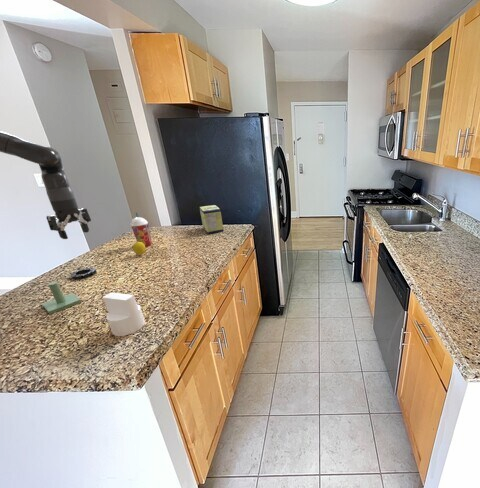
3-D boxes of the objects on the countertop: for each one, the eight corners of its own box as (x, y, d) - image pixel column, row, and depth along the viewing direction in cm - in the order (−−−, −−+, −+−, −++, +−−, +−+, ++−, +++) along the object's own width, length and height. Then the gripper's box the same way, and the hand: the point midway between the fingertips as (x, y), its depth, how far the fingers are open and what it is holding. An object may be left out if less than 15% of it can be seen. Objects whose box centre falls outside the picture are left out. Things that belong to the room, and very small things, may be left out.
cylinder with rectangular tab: (105, 334, 83) (92, 302, 79) (129, 316, 91) (119, 287, 87) (129, 337, 82) (117, 306, 77) (151, 319, 90) (142, 290, 85)
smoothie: (156, 242, 157) (148, 210, 150) (149, 247, 149) (139, 214, 142) (142, 243, 157) (133, 210, 149) (133, 248, 149) (123, 214, 141)
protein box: (218, 225, 188) (214, 204, 182) (224, 231, 176) (220, 209, 170) (203, 228, 182) (198, 206, 176) (207, 234, 170) (203, 211, 165)
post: (49, 314, 93) (39, 292, 89) (42, 306, 97) (32, 285, 94) (81, 302, 100) (72, 281, 96) (73, 295, 104) (64, 275, 101)
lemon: (132, 256, 138) (128, 242, 135) (141, 252, 143) (137, 239, 140) (141, 257, 137) (136, 243, 134) (149, 253, 142) (146, 240, 139)
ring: (75, 281, 114) (74, 278, 114) (69, 276, 119) (68, 273, 118) (99, 273, 121) (97, 270, 120) (92, 269, 125) (91, 266, 125)
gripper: (73, 194, 113) (85, 229, 119) (33, 201, 100) (50, 240, 106) (87, 195, 112) (99, 230, 118) (49, 202, 99) (65, 241, 105)
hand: (75, 235), depth 112 cm, fingers open, 8 cm apart
